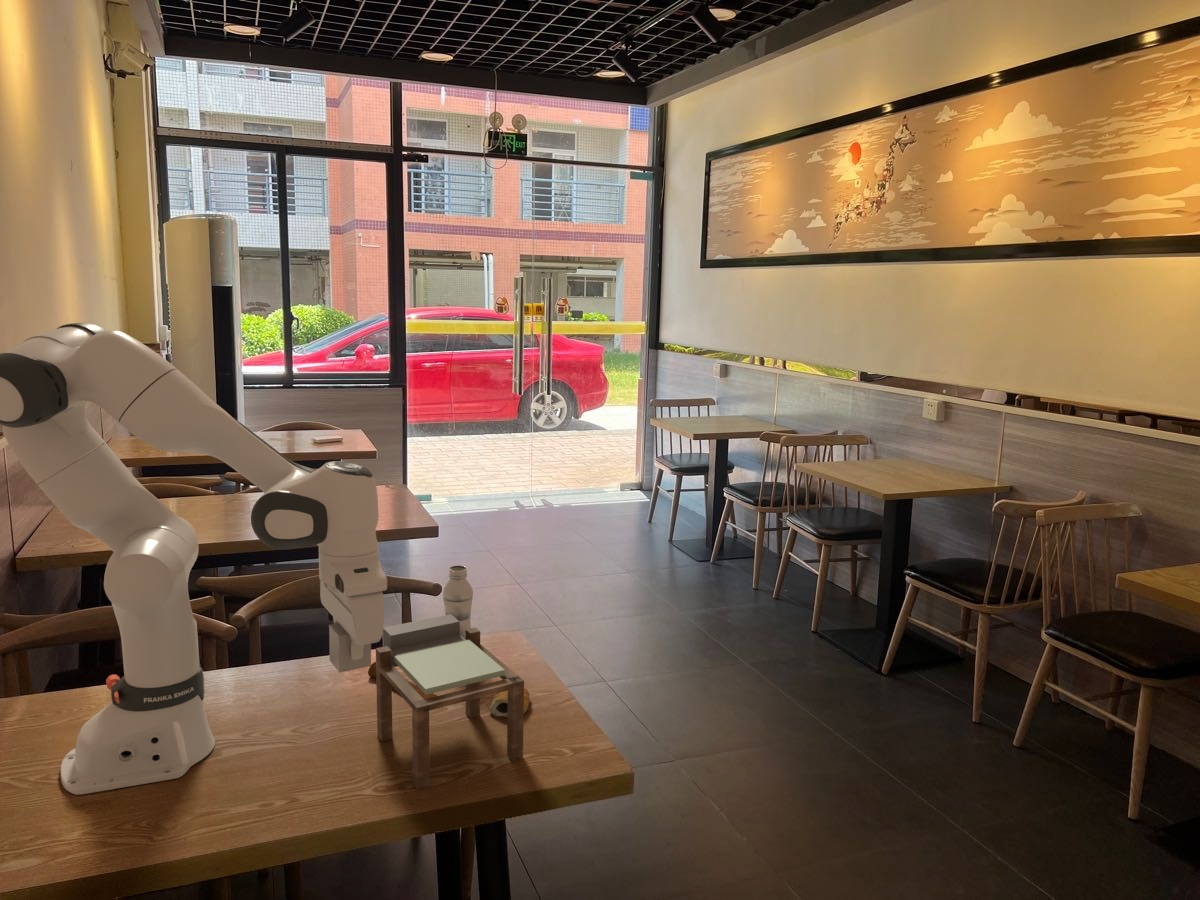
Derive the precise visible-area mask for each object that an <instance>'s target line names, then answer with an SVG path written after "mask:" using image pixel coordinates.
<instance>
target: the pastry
mask: <svg viewBox="0 0 1200 900" xmlns="http://www.w3.org/2000/svg"><path fill="white" fill-rule="evenodd" d="M529 705H530V693H529V690H528V689H527V688H524V715H525V713H526V712H527V710H528V707H529ZM488 711H489V712H490V713H491V715H492V716H495V717H499V716H500V717H501V716H502V717H503V716H504V717H503V718H507V712H508V690H507V691H503V692H499V693H496V694H495V695H494V696H493V697H492V700H491V704H490V706H489V708H488Z"/></svg>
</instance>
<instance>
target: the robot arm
mask: <svg viewBox="0 0 1200 900" xmlns="http://www.w3.org/2000/svg"><path fill="white" fill-rule="evenodd" d="M87 402H90V403H92V404H95V405H97V406H98V407H99V408H101V409H102V410H104V411H105V412H106V413H107V414H108V415H109V416H110V417H111V418H112V419H114V420H115V421H116V422H117V423H118V424H120V425H121V426H122V427H123V428H124V429H126V430H127V431H128V432H129V433H130V434H132V436H134V437H136V438H138V440H140V441H142V442H143V443H146V444H147V445H149V446H151V447H153V448H154V449H156V450H158V451H161V452H162V451H163V452H169V453H193V454H195V453H196V454H200V455H206V456H210V457H213V458H215V459H218V460H220V461H221V462H223V463H225V464H226V465H227V466H229V467H230V468H231V469H234V471H235V472H237V473H238V474H240V475H241V476H242V477H244V478H245V479H246V480H248V481H249V482H250V483H251V484H253V485H254V486H255V487H257V488H259V490H261V491H262V492H263V493H262V495H261V496H260V497H259V498H258V499H257V501H255V503H254V505H253V507H252V509H251V511H250V512H251V513H250V524H251V528H252V530H253V533H254V535H255V536H256V538H258V539H259V541H261V543H263V544H264V545H266V546H268V547H269V548H272V549H276V550H284V551H285V550H292V549H295V550H296V549H301V548H307V547H312V546H318V573H319V575H318V576H319V577H318V578H319V580H320V581H319V582H320V583H319V584H320V585H319V587H320V588H319V591H320V592H319V594H320V595H319V596H320V597H319V598H320V602H321V605H322V606H323V607H324V608H325V610H327V612H328V613H329V614H330V615H331V616H332V617H333V618H332V620H333V624H336V623H339V624H340V625H341V626H342V627H343V628H344V630H345V631H346V632H347V633H348V634H349V635H350V639H351V646H349V655H350V657H351V658H352V659H353V660H358V659H361V658H363V648H364V645H366V644H371V645H372V644H375V643H379V642H380V641H381V639H382V638H383V628H384V621H385V597H384V593H383V591H386V590H387V589H388V578H387V576H386V574H385V572H384V570H383V568H382V566H381V561H380V557H379V542H378V539H377V531H376V530H377V526H378V523H379V500H378V499H379V497H378V488H377V483H376V479H375V477H374V474H373V472H371V470H370V469H368V468H367V467H366V466H363V465H362V464H359V463H354V462H352V461H345V460H340V461H339V460H338V461H337V460H335V461H334V460H333V461H328V462H325V463H324V464H323V465H322V466H321V467H319V468H317V469H314V468H311V467H308V466H304V465H302V464H299V463H297V462H295V461H292V460H290V459H289V458H287V457H286V456H285V455H284V454H282V453H281V452H280V451H278V450H277V449H275V448H274V447H273V446H271V444H269V443H268V442H267V441H266V440H264V439H263V438H261V437H260V436H258V435H257V434H256V433H255V432H254V431H252V430H251V429H249V428H248V427H247V426H246V425H244V424H243V423H242V422H240V421H239V420H237V419H236V418H234V417H233V416H232V415H231V414H229V413H228V412H227V411H226V410H225V409H224V408H222V407H221V406H220V405H219V404H217V403H216V402H215V401H214V400H213V399H212V398H210V397H209V396H208V395H207V394H206V393H205V392H204V391H203V390H202V389H201V388H200V387H198V386H197V385H196V384H195V383H193V381H192V380H191V379H189V378H188V377H187V376H186V375H185V374H184V373H183V372H182V371H180V370H179V369H178V368H177V367H175V366H174V365H173V364H172V363H170V362H169V361H168V360H167V359H166V358H164V357H163V356H161V355H160V354H159V353H157V352H156V351H154V350H153V349H152V348H150V347H149V346H148V345H145V344H144V343H143V342H141V341H139V340H138V339H137V338H134V337H133V336H131V335H129V334H128V333H125V332H123V331H120V330H115V329H112V330H111V329H109V330H106V329H104V328H103V327H101V326H99V325H97V324H93V323H89V322H74V323H66V324H63V325H60V326H58V327H57V328H56V329H55V328H54V329H51V330H47V331H44V332H40V333H39V334H35V335H33V336H30V337H28V338H26V339H25V340H23V341H22V342H21V343H19V344H17V345H15V346H13V347H11V348H9V349H8V350H6V351H4V352H2V353H0V425H1V426H2V434H3V437H5V440H6V441H7V444H8V445H9V447H10V449H11V450H12V452H13V454H14V455H15V457H16V459H17V460H18V461H19V463H20V464H21V466H22V467H23V469H24V470H25V471H26V473H27V474H28V475H29V476H30V478H31V479H32V480H33V481H34V482H35V484H36V485H37V486H38V487H39V489H40V490H41V491H43V493H44V494H45V495H46V496H47V498H48V499H49V500H50V501H51V502H52V503H53V505H54V506H55V508H57V509H58V510H59V512H60V513H62V515H63V516H64V518H66V519H67V521H68V522H69V523H70V524H71V525H73V526H74V527H76V528H78V529H81V530H83V531H85V532H87V533H89V534H91V535H92V536H93V537H95V538H96V539H97V540H99V541H100V542H102V543H103V544H104V545H106V546H107V547H108V548H109V549H110V551H112V554H111V556H110V558H109V559H108V561H107V564H106V567H105V572H104V578H103V579H104V580H103V589H104V592H105V595H106V597H107V599H108V600H109V601H110V602H111V605H112V606H111V607H112V608H113V612H114V615H115V618H116V621H117V626H118V629H119V633H120V640H121V651H122V662H123V673H124V675H123V676H122V677H121V678H120V676H118V674H110V675H109V676H107V678H106V680H105V683H106V687H107V690H110V696H111V701H110V702H108V704H106V706H104V707H103V708H102V709H101V710H99V711H98V712H97V713H96V714H95V715H93V716H92V717H91V718H90V719H88V720H87V721H85V723H84V724H83V725H82V727H81V728H80V731H78V732H79V733H78V735H77V738H76V744H75V748H73V749H71V750H70V751H69V752H68V753H67V754H66V755H65V756H64V757H63V759H62V762H61V765H60V781H61V784H62V787H63V788H64V789H65V791H67V792H69V793H71V794H73V795H77V796H78V795H79V796H80V795H86V794H92V793H98V792H104V791H110V790H115V789H120V788H121V789H122V788H128V787H134V786H139V785H140V786H141V785H146V784H150V783H157V782H162V781H163V782H165V781H168V780H174V779H175V780H176V779H179V778H181V777H182V776H183V777H184V775H185V774H186V773H187V772H188V771H189V769H190V768H191V767H192V766H194V765H196V764H197V763H198V762H200V761H202V760H203V759H204V758H206V757H207V756H208V755H209V754H210V753H211V752H213V750H214V748H215V744H216V739H215V737H214V735H213V733H212V730H211V727H210V725H209V722H208V721H209V720H208V718H207V715H206V709H205V704H204V699H205V693H206V692H205V691H206V689H205V688H206V687H205V677H204V676H205V675H204V670H203V668H202V664H201V663H200V656H199V655H200V653H199V650H200V649H199V639H198V638H199V637H198V623H197V620H196V619H195V617H194V612H193V611H192V610H193V609H192V606H191V602H190V594H189V584H188V583H189V578H190V572H191V571H192V568H193V567H194V565H195V562H197V559H198V557H199V540H198V539H199V538H198V534H197V532H196V529H195V528H194V526H193V525H192V524H191V523H190V522H189V521H188V520H186V519H184V518H183V517H181V516H178V515H177V514H175V512H173V510H172V509H170V508H169V507H168V506H167V505H166V504H164V503H163V502H162V501H161V500H160V499H159V498H157V497H156V496H155V495H154V494H153V493H152V492H150V491H149V490H148V489H147V488H146V487H145V486H143V484H142V483H140V481H139V480H138V479H137V478H136V477H135V476H134V475H133V473H132V472H131V471H130V470H129V469H128V467H127V466H126V465H125V464H124V463H123V462H122V460H121V459H120V458H119V457H118V455H116V453H115V451H114V450H113V449H111V447H110V446H109V445H108V444H107V442H106V441H105V440H104V439H103V437H101V435H100V434H99V433H98V432H97V431H96V430H95V429H94V428H93V426H92V425H91V423H90V421H89V420H88V419H87V417H86V404H87Z"/></svg>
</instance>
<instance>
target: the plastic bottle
mask: <svg viewBox="0 0 1200 900" xmlns="http://www.w3.org/2000/svg"><path fill="white" fill-rule="evenodd" d="M467 569H468V568H467V567H466V566H465V565H460V564H458V565H451V566H450V567H449V569H448V572H449V573H448V578H449V580H448V581H447V583H446V584H445V586H444V587H443V590H442V599H443V600H442V601H443V607H444V616H445V615H450V614H451V615H452V616H453V617H455V618H456V619H457V620H458V621H460V635H461V636H462V637H463V638H464V639H466V629H470V628H472V627H471V624H472V623H471V612H472V604H473V597H474V590H473V587H472V585H471V583H470V582H469V581H468V580H467V579H466V578H468V574H467Z"/></svg>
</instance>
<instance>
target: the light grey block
mask: <svg viewBox="0 0 1200 900" xmlns="http://www.w3.org/2000/svg"><path fill="white" fill-rule="evenodd" d="M328 629H329V633H328V635H329V636H328V637H329V639H328V641H329V644H328V645H329V661H330V663H331V664H332V665H333V667H335V669H336V670H337V671H338V673H339V674H341V673H344V672H349V671H354V670H359V669H364V668H370V666H371V664H372V644H366V645H364V648H363V658H361V659H358V660H353V659H352V658H351V657H350V655H349V646H351V639H350V635H349V634H348V633H347V632H346V631H345V630H344V628H343V627H342V626H341V625H340V624H339V623H336V624H334V623H332V624H328Z"/></svg>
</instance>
